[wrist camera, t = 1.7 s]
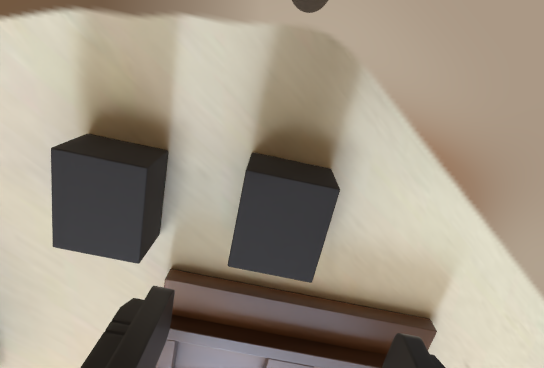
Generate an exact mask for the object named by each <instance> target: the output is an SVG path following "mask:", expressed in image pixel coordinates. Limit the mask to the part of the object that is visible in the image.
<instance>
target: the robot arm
mask: <svg viewBox="0 0 544 368" xmlns="http://www.w3.org/2000/svg"><path fill="white" fill-rule="evenodd" d="M174 295H175V290H173V289H168V288H163V287H157V286H153V287H152V288H151V290H150V291H149V293H148V295H147V296H146V298H145V300H141V299H136V298H133V299H131V300H130V301H129V302H127V303H126V304H124V305H123V306H122V307H120V309H119V310H118V312H117V313H116V315H115V316H114V318H113V319H112V322H110V324H109V325H108V327H107V328H106V331H105V332H104V333H103V335H102V336H101V338H100V339H99V341H98V342H97V344H96V345H95V347H94V348H93V350H92V351H91V353H90V354H89V356H88V357H87V359H86V360H85V362H84V363H83V365H82V366H81V368H155V367H156V365H157V362H158V360H159V357H160V355H161V353H162V350H163V348H164V345H165V343H166V340H167V337H168V333H169V330H170V325H171V317H172V310H173V303H174ZM382 368H445V367H444V366H443V364H442V363H441V362H440V361H439V360H438V359H437V358H436V357H435V356H434V355H430V354H429V352H428V350H427V348H426V346H425V344H424V342H423V340H422V339H421V338H420V337H417V336H412V335H407V334H402V333H397V334H396V335H395V337H394V339H393V341H392V344H391V346H390V348H389V351H388V353H387V355H386V358H385V360H384V363H383V366H382Z"/></svg>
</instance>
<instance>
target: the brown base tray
mask: <svg viewBox="0 0 544 368" xmlns="http://www.w3.org/2000/svg"><path fill="white" fill-rule="evenodd" d="M164 288H168V289H173V290H175V295H174V303H173V310H172V317H171V325H170V330H169V333H168V337H167V340H166V343H165V345H164V348H163V350H162V353H161V355H160V357H159V360H158V362H157V365H156V367H155V368H382V366H383V363H384V360H385V358H386V355H387V353H388V351H389V348H390V346H391V344H392V341H393V339H394V337H395V335H396V334H397V333H402V334H407V335H412V336H417V337H420V338H421V339H422V340H423V342H424V344H425V346H426V348H427V350H428V349H429V347H430V345H431V343H432V341H433V339H434V337H435V334H436V332H437V331H436V329H435V327H434V325H433V323H432V322H431V320H430V319H426V318H421V317H416V316H411V315H405V314H400V313H395V312H390V311H385V310H380V309H375V308H369V307H364V306H359V305H354V304H349V303H344V302H339V301H333V300H328V299H323V298H318V297H313V296H308V295H302V294H297V293H292V292H287V291H282V290H277V289H272V288H266V287H261V286H256V285H251V284H246V283H241V282H236V281H230V280H225V279H220V278H215V277H210V276H205V275H199V274H194V273H189V272H184V271H179V270H174V269H170V271H169V273H168V275H167V277H166V279H165V285H164Z"/></svg>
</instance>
